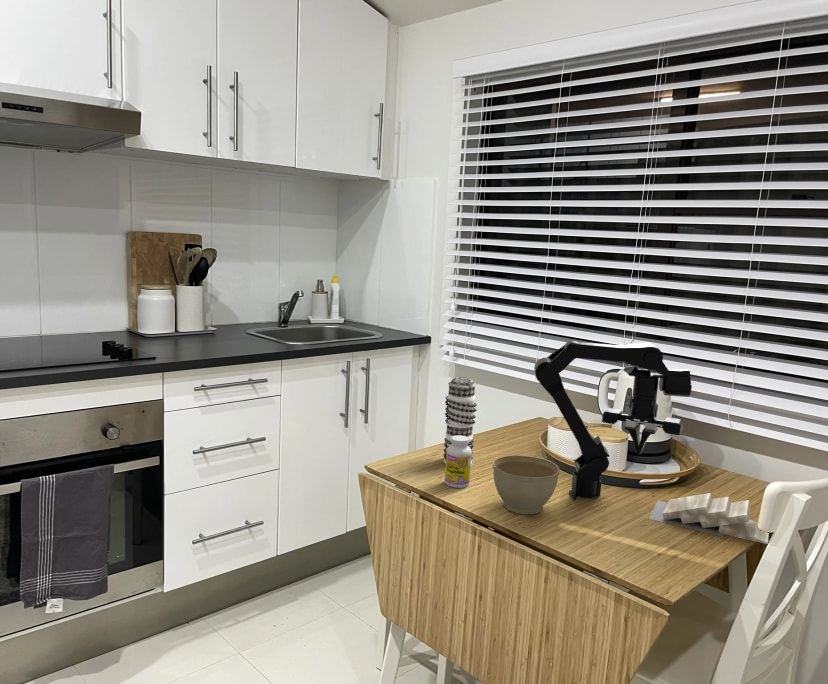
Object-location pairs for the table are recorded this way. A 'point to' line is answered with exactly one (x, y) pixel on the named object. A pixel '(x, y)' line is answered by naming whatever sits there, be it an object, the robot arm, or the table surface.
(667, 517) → the domino
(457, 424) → the decorative candle
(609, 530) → the table surface
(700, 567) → the table surface
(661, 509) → the board
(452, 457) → the supplement bottle
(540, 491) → the planter bowl
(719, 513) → the domino
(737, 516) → the domino
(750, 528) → the domino
